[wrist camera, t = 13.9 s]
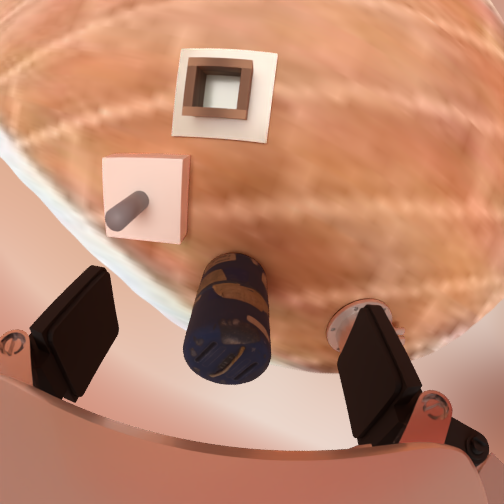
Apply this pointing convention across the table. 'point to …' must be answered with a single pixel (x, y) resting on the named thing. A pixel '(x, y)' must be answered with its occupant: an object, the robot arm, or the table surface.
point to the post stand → (146, 196)
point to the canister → (230, 322)
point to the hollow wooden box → (197, 81)
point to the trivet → (228, 97)
